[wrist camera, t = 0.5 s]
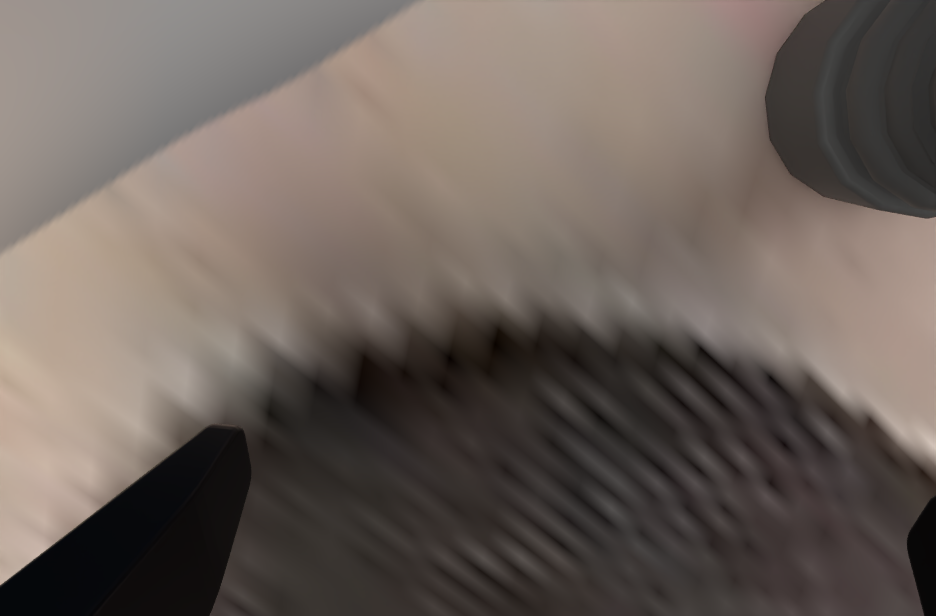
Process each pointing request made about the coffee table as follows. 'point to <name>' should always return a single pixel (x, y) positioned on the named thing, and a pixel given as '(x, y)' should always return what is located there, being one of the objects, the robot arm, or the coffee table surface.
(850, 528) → the coffee table surface
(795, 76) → the candle holder
